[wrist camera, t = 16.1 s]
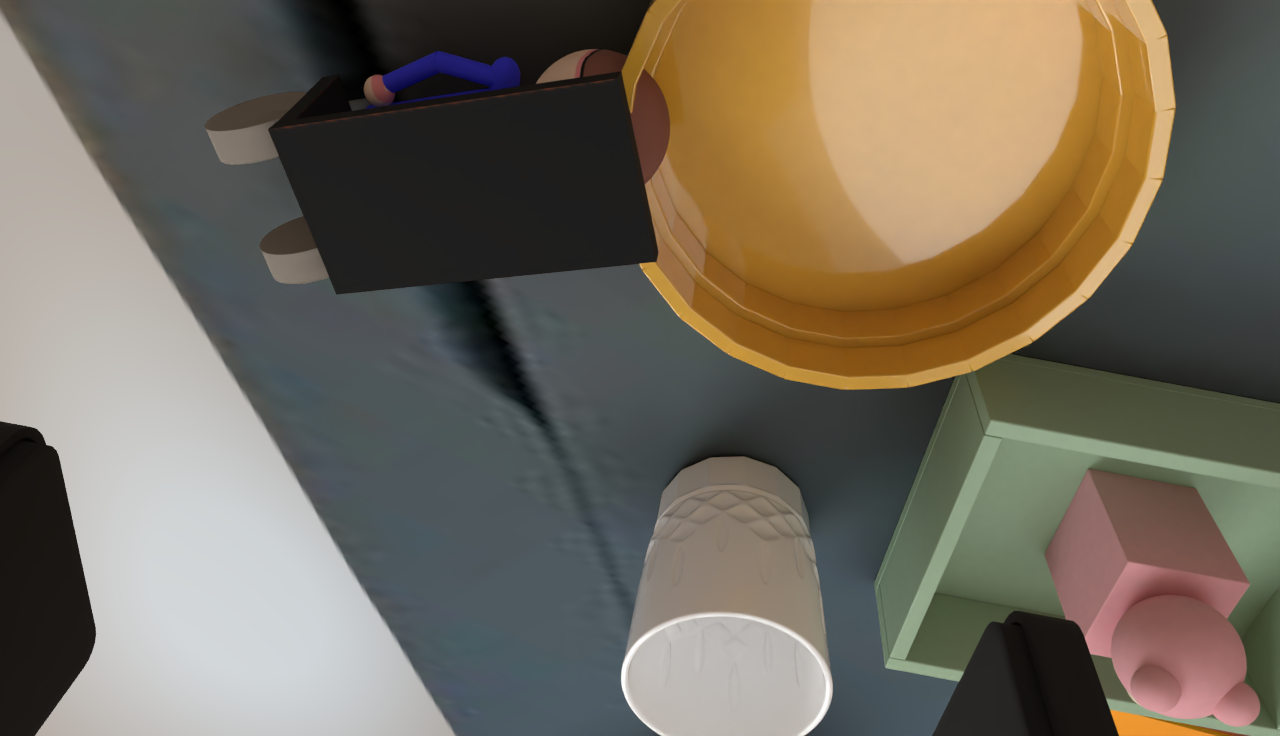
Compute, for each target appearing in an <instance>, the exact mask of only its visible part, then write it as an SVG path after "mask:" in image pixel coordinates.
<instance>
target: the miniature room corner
mask: <svg viewBox="0 0 1280 736" xmlns="http://www.w3.org/2000/svg"><path fill="white" fill-rule="evenodd" d="M1110 711H1111V714H1112V717H1113V720H1114V723H1115V726H1116V728H1117V731H1118V734H1119V736H1249V735H1244V734H1238V733H1233V732H1227V731H1222V730H1217V729H1211V728H1206V727H1201V726H1195V725H1190V724H1185V723H1179V722H1174V721H1168V720H1163V719H1158V718H1152V717H1147V716H1142V715H1136V714H1131V713H1125V712H1120V711H1115V710H1110Z"/></svg>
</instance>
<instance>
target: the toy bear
mask: <svg viewBox="0 0 1280 736" xmlns="http://www.w3.org/2000/svg"><path fill="white" fill-rule="evenodd" d="M1044 555H1045V558H1046V561H1047V564H1048V567H1049V570H1050V573H1051V576H1052V579H1053V582H1054V585H1055V588H1056V591H1057V594H1058V597H1059V600H1060V603H1061V606H1062V609H1063V612H1064V615H1065V618H1066V620H1071V621H1074V622H1075V623H1076V624H1078V625H1079V627H1080V629H1081V630H1082V632H1083V634H1084V637H1085V640H1086V643H1087V646H1088V649H1089V651H1090V654H1093V655H1099V656H1104V657H1110V658H1112V662H1113V665H1114V668H1115V671H1116V674H1117V676H1118V678H1119V679H1120V681H1121V683H1122V684H1123V686H1124V687H1125V689H1126V690H1127V692H1128V694H1129V696H1130V697H1131V698H1132V700H1133V701H1134V702H1136V703H1137V704H1138V705H1140V706H1142V707H1144V708H1145V709H1147V710H1150V711H1154V712H1157V713H1159V714H1162V715H1165V716H1168V717H1172V718H1179V719H1197V718H1203V717H1207V716H1210V715H1212V714H1213V715H1214V716H1215V717H1216V718H1217V719H1218V720H1220V721H1221V722H1223V723H1225V724H1227V725H1230V726H1235V727H1242V726H1246V725H1249V724H1251V723H1252V722H1253V721H1254V720H1255V719H1256V718H1257V717H1258V715H1259V712H1260V702H1259V698H1258V696H1257V694H1256V693H1255V691H1254V690H1253V689H1252V688H1251V687H1250V686H1249V685H1247V684H1246V683H1244V680H1245V676H1246V670H1247V663H1246V654H1245V650H1244V646H1243V643H1242V641H1241V639H1240V637H1239V635H1238V633H1237V631H1236V630H1235V628H1234V627H1233V626H1232V624H1231V623H1230V622H1229V621H1228V620H1227V618H1228V616H1229V615H1230V613H1231V612H1232V611H1233V609H1234V608H1235V606H1236V605H1237V603H1238V602H1239V600H1240V599H1241V597H1242V596H1243V594H1244V593H1245V591H1246V590H1247V589H1248V587H1249V586H1250V582H1249V581H1248V579H1247V577H1246V575H1245V574H1244V572H1243V570H1242V568H1241V567H1240V565H1239V563H1238V561H1237V559H1236V558H1235V556H1234V554H1233V552H1232V551H1231V549H1230V547H1229V545H1228V544H1227V542H1226V540H1225V538H1224V537H1223V535H1222V533H1221V531H1220V529H1219V528H1218V526H1217V524H1216V522H1215V521H1214V519H1213V517H1212V515H1211V514H1210V512H1209V510H1208V508H1207V506H1206V505H1205V503H1204V501H1203V499H1202V498H1201V496H1200V494H1199V492H1198V491H1197V489H1196V488H1191V487H1186V486H1181V485H1175V484H1170V483H1164V482H1159V481H1154V480H1148V479H1143V478H1137V477H1132V476H1127V475H1121V474H1116V473H1110V472H1105V471H1100V470H1094V469H1088V470H1087V472H1086V474H1085V476H1084V478H1083V480H1082V482H1081V484H1080V486H1079V488H1078V489H1077V491H1076V493H1075V495H1074V497H1073V499H1072V501H1071V503H1070V505H1069V507H1068V509H1067V511H1066V513H1065V515H1064V517H1063V519H1062V521H1061V523H1060V525H1059V527H1058V529H1057V531H1056V532H1055V534H1054V536H1053V538H1052V540H1051V542H1050V544H1049V546H1048V548H1047V550H1046V552H1045V554H1044Z"/></svg>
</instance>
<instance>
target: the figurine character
mask: <svg viewBox="0 0 1280 736" xmlns="http://www.w3.org/2000/svg"><path fill="white" fill-rule="evenodd" d="M626 58H627V56H625V55H623V54H621V53H618V52H615V51H610V50H604V49H589V50H582V51H578V52H574V53H572V54H569V55H567V56H565V57H563V58H561V59H559V60H558V61H556V62H555V63H554V64H552V65H551V66H550V67H549V68H548V69H547V70H546V71H545V72H544V73H543V74H542V75H541V77H540V78H539V79H538V81H537V82H536V84H531V85H525V86H519V85H520V70H519V67H518V65H517V63H516V62H515V61H514V60H513V59H511V58H509V57H501V58H499V59H497V60H496V61H495V62H494V63H493V65H492V66H491V65H488V64H484V63H481V62H477V61H474V60H470V59H467V58H463V57H460V56H456V55H452V54H449V53H445V52H442V51H436V52H434V53H432V54H430V55H427V56H425V57H423V58H421V59H419V60H416V61H414V62H412V63H410V64H408V65H405V66H403V67H401V68H399V69H397V70H394V71H392V72H390V73H388V74H386V75H383V76H382V75H373V76H371V77H369V78H368V79H367V80H366V82H365V84H364V94H365V97H366V98H364V99H358V100H352V101H348V99H347V96H346V93H345V90H344V88H343V85H342V82H341V79H340V77H339V74H338V75H333V76H327V77H323V78H322V79H321V80H320V81H318V82H317V83H316V84H315V85H314V86H313V87H312V88H311V89H310V90H309V91H308V92H307V93H304V92H286V93H279V94H273V95H268V96H264V97H260V98H256V99H253V100H249V101H246V102H243V103H240V104H238V105H235V106H233V107H230V108H228V109H226V110H224V111H222V112H220V113H218V114H216V115H215V116H213V117H212V118H210V119H209V120H208V121H207V122H206V124H205V128H206V130H207V132H208V135H209V137H210V139H211V141H212V143H213V146H214V148H215V150H216V152H217V154H218V157H219V159H220V161H221V162H223V163H226V164H233V165H238V164H249V163H255V162H261V161H265V160H269V159H273V158H276V157H280V160H281V162H282V165H283V167H284V169H285V172H286V174H287V177H288V179H289V181H290V184H291V186H292V189H293V191H294V194H295V196H296V198H297V201H298V203H299V206H300V208H301V210H302V213H303V215H304V216H303V217H300V218H297V219H294V220H292V221H289V222H287V223H285V224H283V225H281V226H279V227H277V228H276V229H274V230H272V231H271V232H270V233H268V234H267V235H266V236H265V237H264V238H263V239H262V241H261V243H260V249H261V251H262V253H263V255H264V258H265V260H266V262H267V264H268V266H269V269H270V271H271V273H272V275H273V278H274V279H275V280H277V281H278V282H281V283H286V284H302V283H309V282H314V281H318V280H322V279H326V278H330V280H331V282H332V285H333V287H334V290H335V292H336V294H345V293H355V292H365V291H375V290H384V289H394V288H404V287H414V286H424V285H434V284H444V283H453V282H463V281H473V280H483V279H493V278H503V277H512V276H522V275H532V274H542V273H552V272H562V271H572V270H581V269H591V268H601V267H611V266H621V265H631V264H640V263H650V262H657V258H658V254H659V251H658V246H657V241H656V236H655V232H654V227H653V222H652V217H651V212H650V207H649V203H648V198H647V193H646V188H645V184H646V183H647V182H648V181H649V180H650V179H651V178H652V176H653V175H654V174H655V173H656V171H657V170H658V168H659V166H660V165H661V163H662V161H663V159H664V156H665V154H666V151H667V148H668V143H669V137H670V117H669V110H668V106H667V103H666V100H665V97H664V95H663V93H662V90H661V89H660V87H659V85H658V84H657V82H656V81H655V79H654V78H652V77H651V75H650V74H649V73H648V72H647V71H646V70H645V69H643V71H642V74H641V76H640V79H639V83H638V87H637V92H636V97H635V102H634V107H633V112H632V113H630V110H629V106H628V101H627V96H626V91H625V86H624V81H623V76H622V72H621V70H622V68H623V65H624V63H625V61H626ZM438 73H444V74H448V75H451V76H455V77H458V78H462V79H465V80H469V81H472V82H476V83H479V84H483V85H486V86H490V88H484V89H478V90H471V91H464V92H458V93H451V94H445V95H438V96H432V97H425V98H419V99H412V100H406V101H399V102H393V100H394V98H395V92H397V91H400V90H402V89H404V88H406V87H409V86H411V85H413V84H415V83H418V82H420V81H422V80H424V79H427V78H429V77H431V76H433V75H436V74H438Z"/></svg>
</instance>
